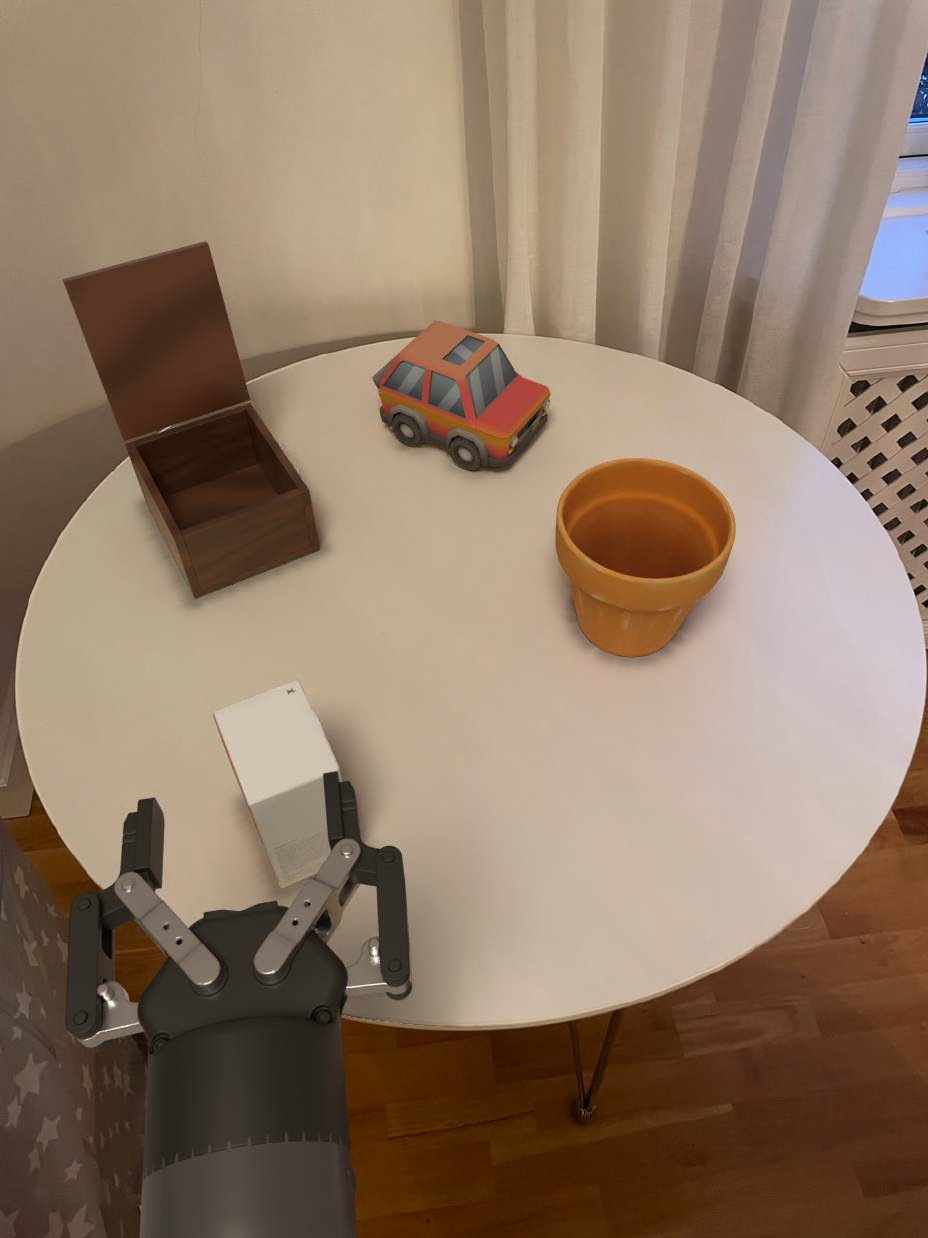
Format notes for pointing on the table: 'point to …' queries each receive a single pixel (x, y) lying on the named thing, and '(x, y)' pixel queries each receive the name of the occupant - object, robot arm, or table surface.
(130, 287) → the lid
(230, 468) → the case
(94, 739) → the table surface
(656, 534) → the flower pot
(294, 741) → the small box
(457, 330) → the toy car
